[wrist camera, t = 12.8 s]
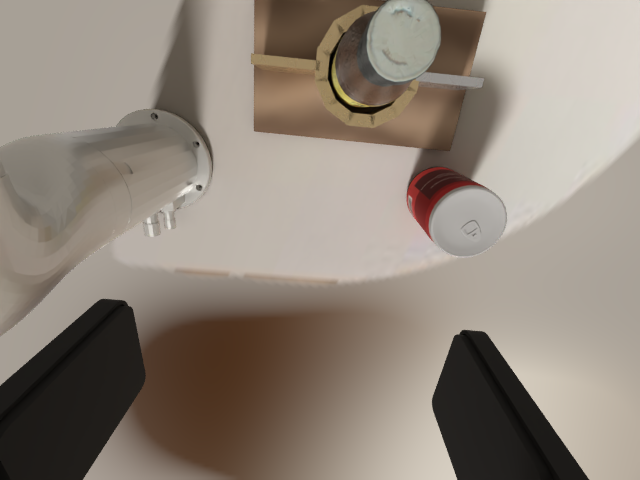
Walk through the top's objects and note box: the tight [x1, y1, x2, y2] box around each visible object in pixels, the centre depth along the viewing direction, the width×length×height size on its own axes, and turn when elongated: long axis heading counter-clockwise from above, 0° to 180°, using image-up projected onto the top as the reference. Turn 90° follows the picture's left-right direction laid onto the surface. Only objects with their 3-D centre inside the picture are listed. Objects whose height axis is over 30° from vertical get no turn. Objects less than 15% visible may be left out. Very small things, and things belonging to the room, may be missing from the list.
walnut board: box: [254, 0, 486, 151], centre depth 35 cm, size 14×24×2 cm, turn 85°
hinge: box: [251, 5, 484, 128], centre depth 31 cm, size 10×22×6 cm, turn 85°
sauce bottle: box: [330, 0, 441, 107], centre depth 25 cm, size 6×6×20 cm
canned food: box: [407, 167, 507, 257], centre depth 36 cm, size 8×8×11 cm
